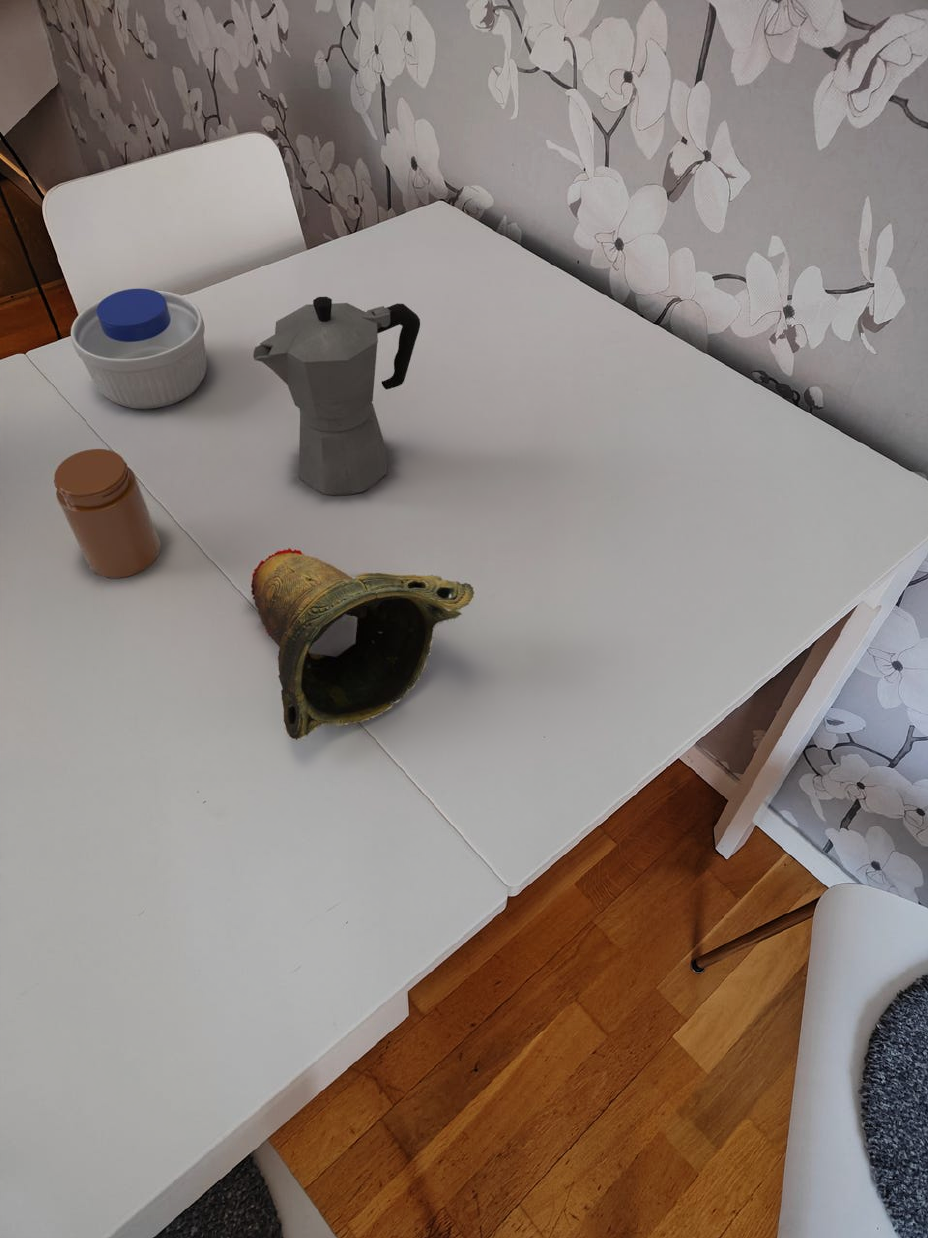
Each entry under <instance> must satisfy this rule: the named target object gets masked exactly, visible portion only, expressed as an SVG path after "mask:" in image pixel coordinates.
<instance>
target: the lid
mask: <svg viewBox="0 0 928 1238" xmlns="http://www.w3.org/2000/svg"><path fill="white" fill-rule="evenodd" d="M156 291H157V290H156ZM156 291H153V289H150V288H149V289H148V288H129V289H124V290H123V289H122V290H120V291H116V292H114V293H112V294H110V295H108V296H106V297H105V298H102V299H103V300H102V299H101V300H102V301H101V302H100V304H99V305H98V307H97V316H98V319H99V321H100V324H101V327H102V330H103V332H104V333H105V335H107V336H108V337H109V338H111V339H114V340H117V341H123V342H136V341H143V340H146V339H150V338H152V337H155V336H157V335H159V334H160V333H162V332H163V331H165V330H166V328H167V327H168V326H169V324H170V321H171V317H170V313H169V310H168V306H167V303H166V299H165V298H164V296H163V295H161V294H160V293H158V292H156Z"/></svg>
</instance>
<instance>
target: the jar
mask: <svg viewBox="0 0 928 1238" xmlns="http://www.w3.org/2000/svg"><path fill="white" fill-rule="evenodd" d="M53 478H54V479H53V483H54V487H55V489H56V491H55V495H56V496H55V497H56V500H57V502H58V505H59V506H60V508H61V510H62V512H63V514H64V517H65V519H66V521H67V523H68V525H69V527H70V529H71V532H72V533H73V535H74V537H75V539H76V541H77V544H78V545H79V548H80V550H81V552H82V554H83V556H84V559H85V560H86V562H87V564H88V567H89V568H90V569H91V570H92V571H93V572H94V573H96V574H97V575H98V576H102V577H105V578H111V579H122V578H127V577H131V576H134V575H136V574H140V573H141V572H143V571H144V570H145V571H146V569H148V568H149V567H150V566H151V565H152V564H153V563H154V562H155V561H156V560H157V558H158V556H159V553H160V551H161V540H160V539H159V536H158V533H157V531H156V528H155V526H154V522H153V519H152V517H151V514H150V512H149V509H148V506H147V504H146V501H145V498H144V495H143V492H142V491H141V487H140V485H139V482H138V479H137V477H136V474H135V472H134V471H133V470H132V469H131V468H130V466H128V463H127V462H126V461H125V459H124V458H123V456H121V455H120V454H118V453H117V452H116V451H113V450H111V449H106V448H92V449H90V448H89V449H86V450H82V451H79V452H76V453H73V454H72V455H70V456H68V457H66V458H65V459H64V460H62V461H61V463H60V464H59V465H58V466H57V468H56V470H55V472H54V475H53Z"/></svg>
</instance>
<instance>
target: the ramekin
mask: <svg viewBox="0 0 928 1238" xmlns="http://www.w3.org/2000/svg"><path fill="white" fill-rule="evenodd" d="M152 290H153V289H152ZM153 291H156V292H158V293H160V294H161V295H163V296H164V298H165V299H166V303H167V306H168V310H169V313H170V317H171V321H170V324H169V326H168V327H167V328H166V330H165V331H163V332H162V333H160V334H159V335H157V336H155V337H152V338H150V339H146V340H143V341H136V342H123V341H117V340H114V339H111V338H109V337H108V336H107V335H105V333H104V332H103V330H102V327H101V324H100V321H99V319H98V316H97V307H98V305H99V304H100V302H101V301H102V300H103V299H104V298H102V299H100V300H97V301H95V302H94V303H92V304H91V305H89V306H87V307H86V308H85V309H84V310H82V312H81V313H79V314H78V315H77V317H76V318H75V319H74V321H73V323H72V325H71V327H70V339H71V342H72V346H73V348H74V351H75V352H76V354H77V356H78V357H79V358H80V359H81V360H82V363H83V364H84V367H85V368H86V370H87V372H88V374H89V376H90V378H91V379H92V382H93V383H94V385H95V386H96V388H97V389H98V391H99V392H100V393H101V394H102V395H103V396H104V397H105V398H107V399H108V400H110V401H112V402H114V404H115V403H116V404H117V405H119V406H123V407H126V408H131V409H138V410H150V409H158V408H159V409H160V408H164V407H167V406H171V405H173V404H176V403H178V402H180V401H182V400H184V399H186V398H187V397H189V396H191V395H192V394H193V393H194V392H195V391H196V390H197V389H198V388H199V386H200V384H201V383H202V381H203V379H204V377H205V375H206V371H207V355H206V346H205V338H204V335H205V322H204V319H203V315H202V312H201V310H200V309H199V307H198V306H197V305H196V304H195V303H194V302H193V301H192V300H190V299H188V298H186V297H185V296H183V295H180V294H177V293H174V292H171V291H164V290H155V289H154V290H153Z"/></svg>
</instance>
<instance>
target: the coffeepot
mask: <svg viewBox="0 0 928 1238" xmlns="http://www.w3.org/2000/svg"><path fill="white" fill-rule="evenodd" d="M397 326H401V329H400V331H399V337H398V346H397V347H398V348H397V352H396V354H395V356H394V359H393V374H392V375H391V377H389V378H388V379H385V380H382V381H381V385H382V387H383V388H384V389H385V390H391V389H394V388H396V387H400V386H402V385H403V384H404V383H405V380H406V376H407V373H408V369H409V366H410V362H411V359H412V355H413V352H414V348H415V345H416V341H417V337H418V335H419V332H420V328H421V319H420V317H419V315H418V314H417V313H415V312H414V311H413V310H412V309H411V308H409V307H408V306H407V305H406V304H404V303H395V304H392V305H390V306H386V307H385V306H384V305H383V306H382V305H381V306H378V307H375V308H374V307H373V308H371V309H367V311H365V310H362V309H360V308H358V307H356V306H355V305H352V304H351V303H348V302H337V303H334V302H333V299H332V298H330V297H328V296H317V297H315V298H314V299H313V300H312V304H305V305H303V306H301V307H300V308H297V309H296V310H294V311H293V312H290V313H289V314H287V315H286V316H283V317H282V318H280V319H277V321H275V328H274V329H275V330H274V334H273V335H271V336H270V337H268V338H266V339H265V340H263V341H261V342H260V343H259V345H258V346H255V347H254V350H253V353H252V358H253V360H254V361H257V362H261V363H263V364H264V365H265V366H267V367H268V368H269V369H270V370H271V371H273V373H275V375H277V376H278V377H279V379H281V381H282V382H284V383H285V384H286V385H287V388H288V390H289V392H290V395H291V398H292V401H293V404H294V406H295V407H296V408H298V410H299V444H298V445H299V451H298V452H299V453H298V457H299V458H298V478H299V479H300V481H301V482H304V483H305V484H306V485H307V486H309V487H310V488H311V489H313V490H315V491H317V492H318V493H322V494H323V495H328V496H329V495H330V496H351V495H354V494H355V495H356V494H358V493H363V492H365V491H367V490H369V489H371V488H373V487H374V486H375V485H377V484H378V483H379V482H380V481H381V480H382V478H384V476H385V475H387V474H388V463H387V459H388V458H387V448H386V444H385V441H384V438H383V433H382V431H381V427H380V424H379V420H378V417H377V414H376V413H377V412H376V410H375V406H374V403H373V401H374V392H375V391H374V390H375V378H376V377H375V376H376V364H377V352H378V343H379V337H378V334H380V333H382V332H385V331H389V330H390V329H392V328H394V327H397Z"/></svg>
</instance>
